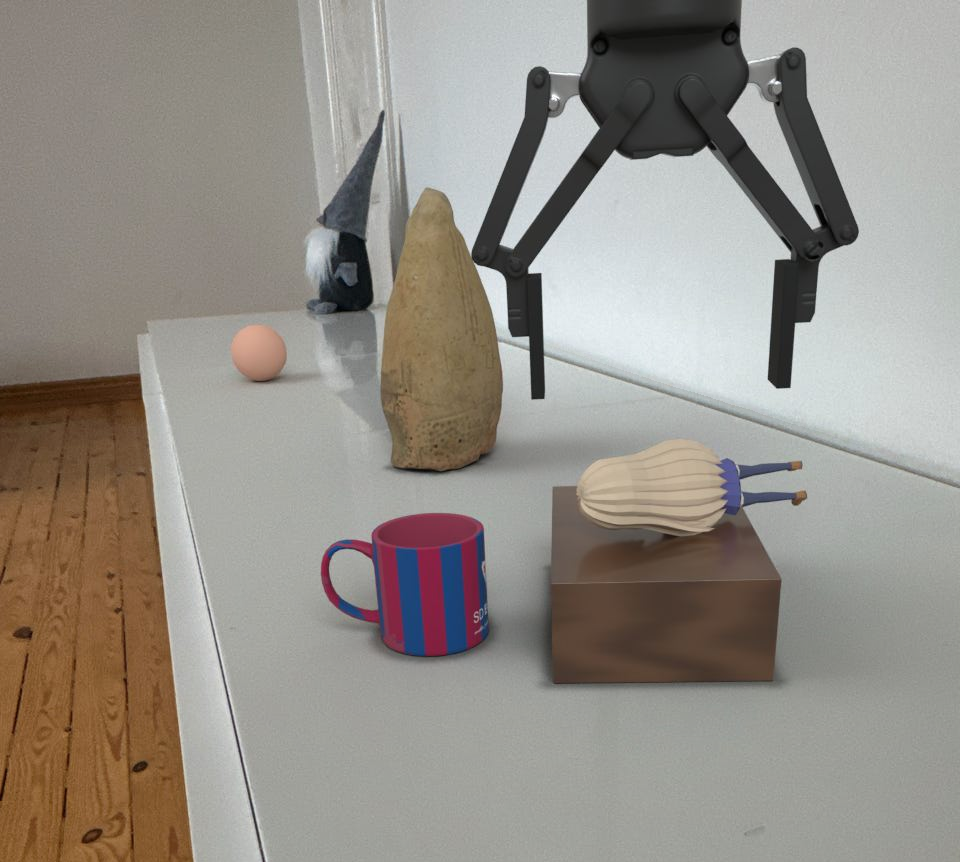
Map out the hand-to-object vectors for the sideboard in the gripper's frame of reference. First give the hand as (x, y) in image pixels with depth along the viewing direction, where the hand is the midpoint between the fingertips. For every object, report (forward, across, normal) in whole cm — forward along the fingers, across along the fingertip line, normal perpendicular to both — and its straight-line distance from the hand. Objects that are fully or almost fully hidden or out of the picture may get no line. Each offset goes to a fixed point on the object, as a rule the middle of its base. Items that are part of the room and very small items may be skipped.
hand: (657, 390), depth 57 cm
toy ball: (+14, +49, -88) cm, 102 cm away
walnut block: (+14, 0, 0) cm, 14 cm away
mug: (+14, +15, +2) cm, 21 cm away
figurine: (+8, -2, 0) cm, 9 cm away
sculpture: (+14, +17, -40) cm, 46 cm away
